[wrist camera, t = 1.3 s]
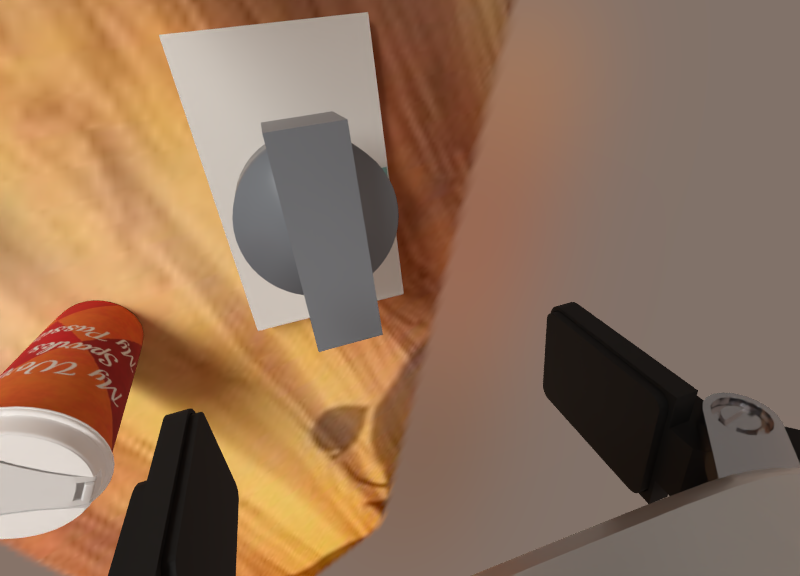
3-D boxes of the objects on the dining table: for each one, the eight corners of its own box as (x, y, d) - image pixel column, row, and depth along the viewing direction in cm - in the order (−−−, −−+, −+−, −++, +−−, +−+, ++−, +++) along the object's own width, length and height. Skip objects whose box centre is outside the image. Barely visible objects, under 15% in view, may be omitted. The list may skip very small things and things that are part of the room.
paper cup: (169, 301, 32) (120, 436, 20) (148, 381, 35) (92, 546, 23) (43, 274, 29) (-105, 417, 17) (28, 365, 31) (-110, 547, 19)
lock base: (165, 37, 25) (143, 29, 20) (360, 15, 28) (385, 3, 23) (257, 318, 35) (258, 360, 30) (396, 283, 37) (419, 317, 32)
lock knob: (207, 124, 22) (189, 144, 17) (371, 99, 24) (410, 109, 18) (265, 311, 28) (269, 376, 22) (395, 279, 30) (431, 332, 24)
